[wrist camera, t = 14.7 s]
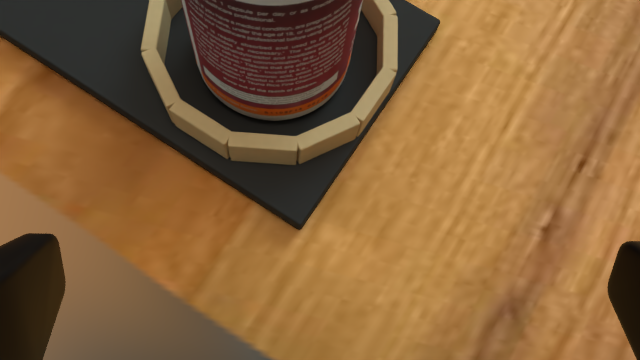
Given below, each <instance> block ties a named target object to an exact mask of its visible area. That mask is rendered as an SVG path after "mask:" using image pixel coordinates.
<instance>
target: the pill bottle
mask: <svg viewBox="0 0 640 360" xmlns="http://www.w3.org/2000/svg"><path fill="white" fill-rule="evenodd" d="M362 2H363V0H181V4H182V7H183V11H184V15H185V19H186V23H187V27H188V31H189V35H190V39H191V43H192V47H193V50H194V55H195V59H196V62H197V65H198V67H199V70H200V73H201V76H202V78H203V80H204V82H205V83H206V85H207V86H208V88H209V89H210V90H211V92H212V93H213V94H214V95H215V96H216V97H217V98H218V99H219V100H220V101H221V102H223V103H224V104H225V105H227V106H228V107H230V108H231V109H233V110H235V111H237V112H239V113H241V114H243V115H246V116H249V117H252V118H256V119H262V120H270V121H280V120H288V119H293V118H297V117H300V116H303V115H305V114H308V113H310V112H312V111H314V110H316V109H317V108H319V107H320V106H322V105H323V104H324V103H326V102H327V101H328V100H329V99H330V98H331V97H332V96H333V95H334V94H335V92H336V91H337V90H338V88H339V87H340V85H341V83H342V82H343V80H344V77H345V75H346V72H347V69H348V66H349V62H350V58H351V53H352V48H353V43H354V39H355V34H356V29H357V25H358V21H359V15H360V11H361V7H362Z"/></svg>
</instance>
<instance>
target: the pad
mask: <svg viewBox="0 0 640 360" xmlns="http://www.w3.org/2000/svg"><path fill="white" fill-rule="evenodd" d="M439 24H440V20H438V19H437V18H435V17H433V16H431V15H430V14H428V13H426V12H425V11H423V10H421V9H419V8H418V7H416V6H414V5H412V4H411V3H409V2H407V1H405V0H363V2H362V7H361V11H360V15H359V21H358V25H357V29H356V34H355V39H354V43H353V48H352V53H351V58H350V62H349V66H348V69H347V72H346V75H345V77H344V80H343V82H342V83H341V85H340V87H339V88H338V90H337V91H336V92H335V94H334V95H333V96H332V97H331V98H330V99H329V100H328V101H327V102H326V103H324V104H323V105H322V106H320V107H319V108H317V109H316V110H314V111H312V112H310V113H308V114H305V115H303V116H300V117H297V118H293V119H288V120H280V121H270V120H262V119H256V118H252V117H249V116H246V115H243V114H241V113H239V112H237V111H235V110H233V109H231V108H230V107H228V106H227V105H225V104H224V103H223V102H221V101H220V100H219V99H218V98H217V97H216V96H215V95H214V94H213V93H212V92H211V90H210V89H209V88H208V86H207V85H206V83H205V82H204V80H203V78H202V76H201V73H200V70H199V67H198V65H197V62H196V59H195V55H194V50H193V47H192V43H191V39H190V35H189V31H188V27H187V23H186V19H185V15H184V11H183V7H182V4H181V0H0V36H2V37H3V38H5V39H6V40H8V41H10V42H11V43H13V44H14V45H16V46H17V47H19V48H20V49H22V50H23V51H25V52H26V53H28V54H29V55H31V56H33V57H34V58H36V59H37V60H39V61H40V62H42V63H43V64H45V65H46V66H48V67H49V68H51V69H53V70H54V71H56V72H57V73H59V74H60V75H62V76H63V77H65V78H66V79H68V80H69V81H71V82H73V83H74V84H76V85H77V86H79V87H80V88H82V89H83V90H85V91H86V92H88V93H89V94H91V95H93V96H94V97H96V98H97V99H99V100H100V101H102V102H103V103H105V104H106V105H108V106H109V107H111V108H113V109H114V110H116V111H117V112H119V113H120V114H122V115H123V116H125V117H126V118H128V119H129V120H131V121H132V122H134V123H136V124H137V125H139V126H140V127H142V128H143V129H145V130H146V131H148V132H149V133H151V134H152V135H154V136H156V137H157V138H159V139H160V140H162V141H163V142H165V143H166V144H168V145H169V146H171V147H172V148H174V149H176V150H177V151H179V152H180V153H182V154H183V155H185V156H186V157H188V158H189V159H191V160H192V161H194V162H196V163H197V164H199V165H200V166H202V167H203V168H205V169H206V170H208V171H209V172H211V173H212V174H214V175H215V176H217V177H219V178H220V179H222V180H223V181H225V182H226V183H228V184H229V185H231V186H232V187H234V188H235V189H237V190H239V191H240V192H242V193H243V194H245V195H246V196H248V197H249V198H251V199H252V200H254V201H255V202H257V203H259V204H260V205H262V206H263V207H265V208H266V209H268V210H269V211H271V212H272V213H274V214H275V215H277V216H279V217H280V218H282V219H283V220H285V221H286V222H288V223H289V224H291V225H292V226H294V227H295V228H297V229H299V230H300V229H302V227H303V226H304V224H305V223H306V221H307V220H308V218H309V217H310V215H311V214H312V212H313V211H314V209H315V208H316V207H317V205H318V204H319V202H320V201H321V199H322V198H323V196H324V195H325V193H326V192H327V190H328V189H329V187H330V186H331V185H332V183H333V182H334V180H335V179H336V177H337V176H338V174H339V173H340V171H341V170H342V168H343V167H344V165H345V164H346V163H347V161H348V160H349V158H350V157H351V155H352V154H353V152H354V151H355V149H356V148H357V146H358V145H359V143H360V142H361V141H362V139H363V138H364V136H365V135H366V133H367V132H368V130H369V129H370V127H371V126H372V124H373V123H374V121H375V120H376V119H377V117H378V116H379V114H380V113H381V111H382V110H383V108H384V107H385V105H386V104H387V102H388V101H389V99H390V98H391V97H392V95H393V94H394V92H395V91H396V89H397V88H398V86H399V85H400V83H401V82H402V80H403V79H404V77H405V76H406V75H407V73H408V72H409V70H410V69H411V67H412V66H413V64H414V63H415V61H416V60H417V58H418V57H419V55H420V54H421V53H422V51H423V50H424V48H425V47H426V45H427V44H428V42H429V41H430V39H431V38H432V36H433V35H434V33H435V32H436V30H437V28H438V26H439Z"/></svg>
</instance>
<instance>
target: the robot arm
mask: <svg viewBox="0 0 640 360" xmlns="http://www.w3.org/2000/svg"><path fill="white" fill-rule="evenodd" d="M64 291H65V275H64V269H63V264H62V258H61V252H60V247H59V242H58V240H57V238H56V237H55V236H54V235H53V234H32V233H29V234H25V235H23V236H20V237H18V238H16V239H14V240H12V241H10V242H8V243H6V244H3V245H2V246H0V360H43V356H44V353H45V350H46V347H47V344H48V341H49V338H50V335H51V332H52V329H53V326H54V323H55V320H56V317H57V314H58V311H59V308H60V305H61V301H62V299H63V296H64ZM608 295H609V298H610V301H611V303H612V305H613V308H614V310H615V312H616V314H617V316H618V319H619V321H620V323H621V325H622V328H623V330H624V332H625V334H626V336H627V339H628V341H629V343H630V345H631V348H632V350H633V352H634V354H635V356H636V359H637V360H640V241H629V242H625V243H624V244H622V245H621V247H620V248H619V251H618V254H617V257H616V260H615V263H614V266H613V269H612V272H611V275H610V278H609V282H608Z"/></svg>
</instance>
